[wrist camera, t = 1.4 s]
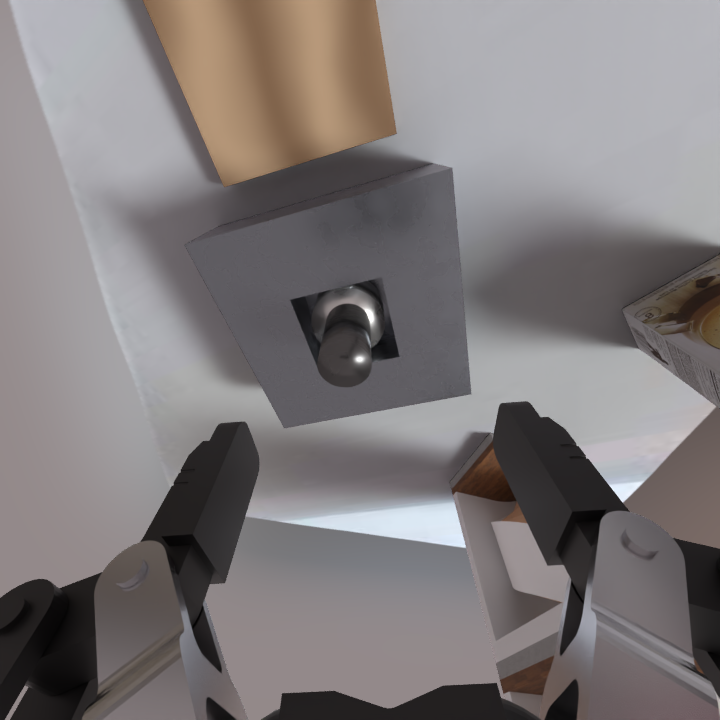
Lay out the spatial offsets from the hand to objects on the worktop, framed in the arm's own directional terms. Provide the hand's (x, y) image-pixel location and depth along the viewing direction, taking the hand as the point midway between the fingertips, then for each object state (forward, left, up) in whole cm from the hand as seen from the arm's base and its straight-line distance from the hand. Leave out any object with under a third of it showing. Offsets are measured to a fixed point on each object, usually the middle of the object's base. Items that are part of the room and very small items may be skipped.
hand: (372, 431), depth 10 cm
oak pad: (+3, -14, -21) cm, 25 cm away
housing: (+3, +4, -21) cm, 21 cm away
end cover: (+3, +4, -19) cm, 20 cm away
